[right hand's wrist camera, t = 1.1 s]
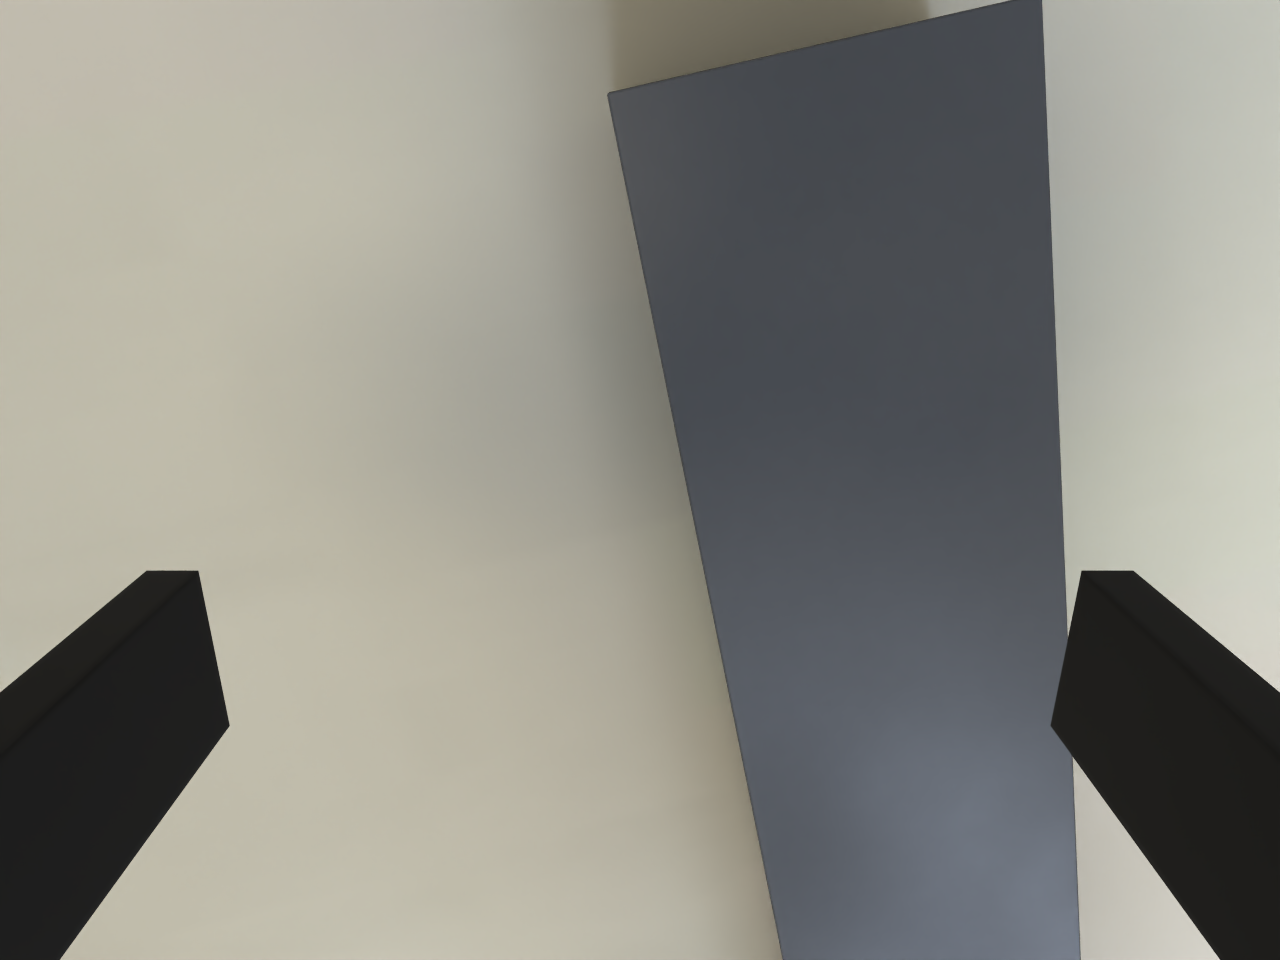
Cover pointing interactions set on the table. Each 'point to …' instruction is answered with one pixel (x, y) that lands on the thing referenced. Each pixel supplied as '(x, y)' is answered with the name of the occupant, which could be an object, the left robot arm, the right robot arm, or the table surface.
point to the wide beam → (876, 469)
